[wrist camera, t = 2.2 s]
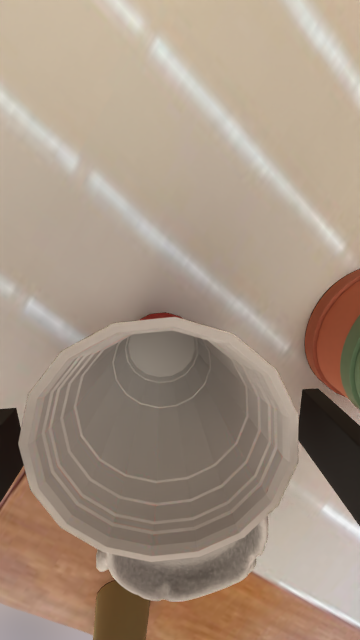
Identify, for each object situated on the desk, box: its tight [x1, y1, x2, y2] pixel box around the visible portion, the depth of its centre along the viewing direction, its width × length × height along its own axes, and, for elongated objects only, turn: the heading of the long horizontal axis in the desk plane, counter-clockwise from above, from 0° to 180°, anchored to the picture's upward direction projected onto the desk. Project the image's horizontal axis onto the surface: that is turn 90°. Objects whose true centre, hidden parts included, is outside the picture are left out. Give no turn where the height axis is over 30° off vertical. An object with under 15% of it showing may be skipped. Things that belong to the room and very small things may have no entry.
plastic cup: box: [18, 312, 298, 562], centre depth 15 cm, size 11×11×12 cm
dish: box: [96, 515, 268, 602], centre depth 23 cm, size 14×14×5 cm
